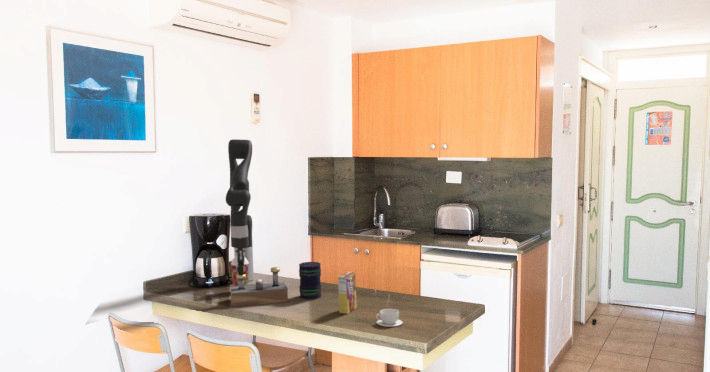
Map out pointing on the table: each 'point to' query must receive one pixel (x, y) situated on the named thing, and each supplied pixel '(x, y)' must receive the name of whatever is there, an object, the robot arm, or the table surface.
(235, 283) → the smoothie
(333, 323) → the table surface
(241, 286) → the knob
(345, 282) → the candy box
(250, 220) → the robot arm
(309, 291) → the storage jar
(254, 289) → the mount
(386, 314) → the teacup
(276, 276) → the knob
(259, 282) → the cylinder
